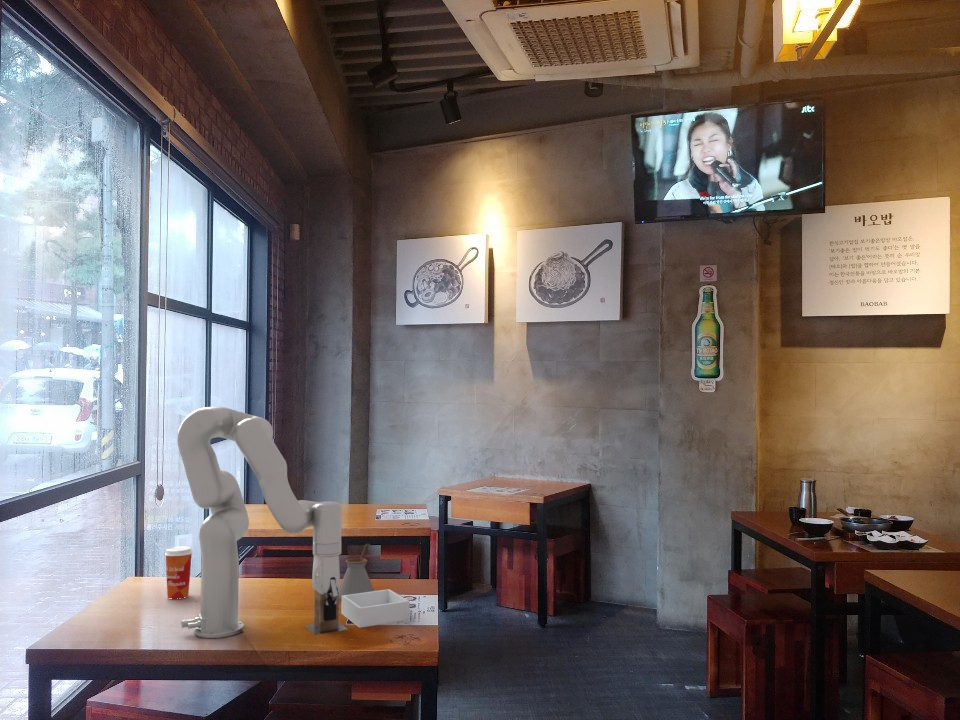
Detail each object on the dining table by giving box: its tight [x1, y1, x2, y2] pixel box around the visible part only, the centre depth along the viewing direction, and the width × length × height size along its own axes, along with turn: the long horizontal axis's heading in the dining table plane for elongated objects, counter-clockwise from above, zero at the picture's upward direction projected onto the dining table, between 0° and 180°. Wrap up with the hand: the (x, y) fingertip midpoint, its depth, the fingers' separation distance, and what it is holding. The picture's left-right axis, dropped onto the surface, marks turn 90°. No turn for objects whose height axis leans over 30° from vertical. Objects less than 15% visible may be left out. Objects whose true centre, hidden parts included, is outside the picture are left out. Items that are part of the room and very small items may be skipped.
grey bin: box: [340, 588, 410, 628], centre depth 209 cm, size 15×15×6 cm
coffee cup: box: [164, 545, 194, 600], centre depth 232 cm, size 8×8×15 cm
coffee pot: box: [339, 543, 375, 602], centre depth 231 cm, size 21×12×15 cm, turn 175°
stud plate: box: [304, 621, 348, 636], centre depth 199 cm, size 9×9×5 cm
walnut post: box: [313, 587, 340, 631], centre depth 199 cm, size 5×5×11 cm
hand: (326, 616), depth 199 cm, fingers closed on walnut post, 5 cm apart
